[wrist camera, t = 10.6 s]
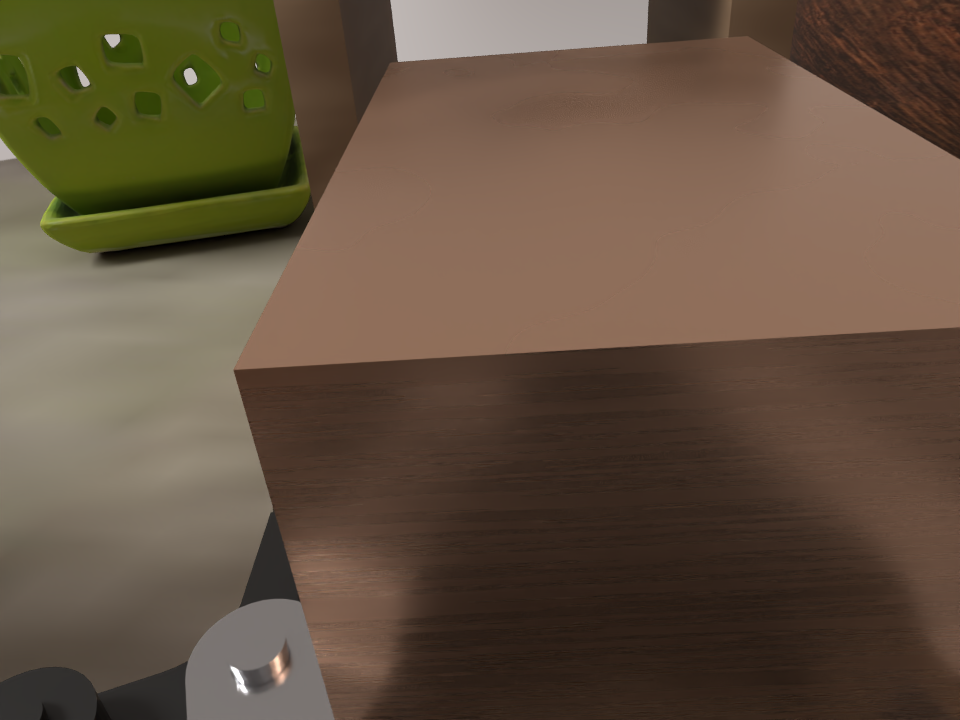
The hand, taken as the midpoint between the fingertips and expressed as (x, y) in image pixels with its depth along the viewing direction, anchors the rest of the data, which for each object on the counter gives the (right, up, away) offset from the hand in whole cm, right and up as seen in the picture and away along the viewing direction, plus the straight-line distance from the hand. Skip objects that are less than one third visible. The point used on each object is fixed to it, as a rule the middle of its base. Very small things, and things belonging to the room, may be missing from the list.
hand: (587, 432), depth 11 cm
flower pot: (-16, +9, +30) cm, 35 cm away
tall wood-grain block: (+1, -4, +6) cm, 8 cm away
